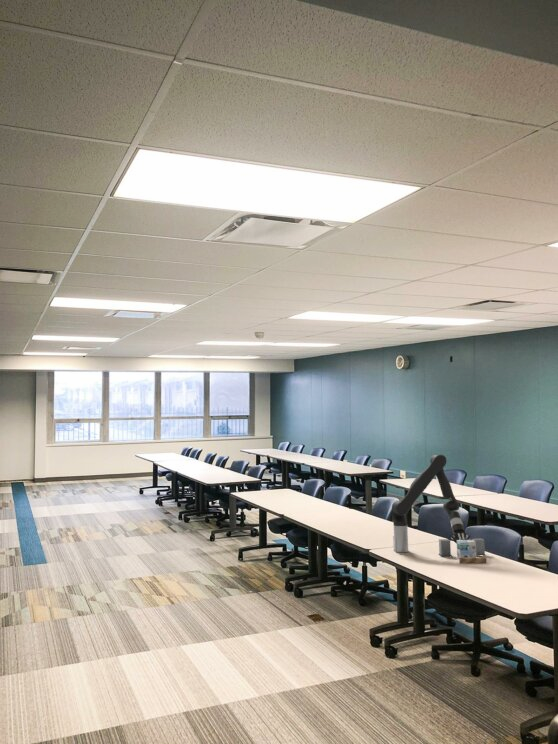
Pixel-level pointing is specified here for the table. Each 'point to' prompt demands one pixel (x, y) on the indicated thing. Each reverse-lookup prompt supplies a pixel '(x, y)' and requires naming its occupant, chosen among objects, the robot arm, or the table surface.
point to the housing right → (479, 546)
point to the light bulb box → (466, 549)
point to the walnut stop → (472, 560)
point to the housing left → (444, 548)
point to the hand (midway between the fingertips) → (464, 549)
